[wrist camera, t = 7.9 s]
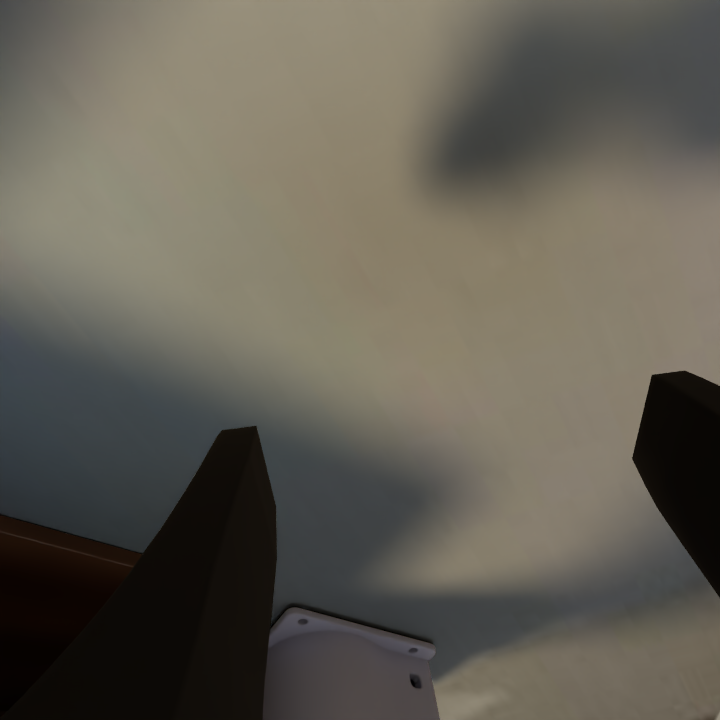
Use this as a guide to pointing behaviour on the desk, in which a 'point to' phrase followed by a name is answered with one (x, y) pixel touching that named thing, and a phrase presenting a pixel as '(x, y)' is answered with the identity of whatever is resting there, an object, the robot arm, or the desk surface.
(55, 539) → the cupboard
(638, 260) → the desk surface
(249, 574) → the robot arm
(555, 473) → the desk surface
